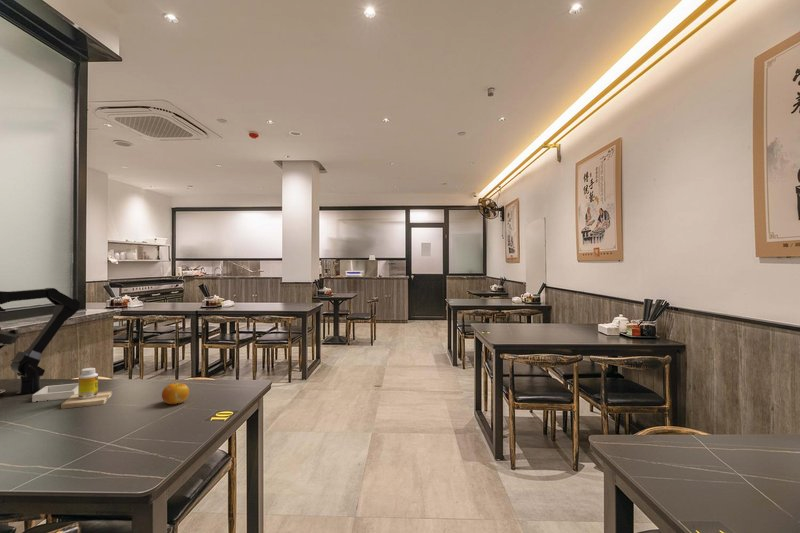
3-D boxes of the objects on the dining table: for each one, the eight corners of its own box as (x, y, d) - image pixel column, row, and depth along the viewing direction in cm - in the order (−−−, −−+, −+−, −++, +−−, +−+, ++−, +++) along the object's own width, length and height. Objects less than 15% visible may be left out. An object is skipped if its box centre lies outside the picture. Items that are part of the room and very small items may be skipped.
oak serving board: (73, 398, 146) (73, 394, 146) (112, 394, 151) (112, 390, 151) (61, 408, 135) (61, 404, 135) (103, 404, 140) (103, 400, 140)
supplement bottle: (97, 397, 142) (98, 369, 142) (78, 400, 139) (78, 371, 139) (97, 393, 147) (97, 366, 147) (78, 396, 143) (78, 368, 143)
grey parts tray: (45, 392, 152) (45, 386, 152) (84, 389, 157) (84, 382, 157) (32, 402, 141) (32, 395, 142) (73, 397, 146) (74, 391, 147)
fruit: (187, 396, 138) (181, 375, 141) (161, 407, 136) (155, 386, 138) (194, 400, 146) (188, 380, 149) (169, 411, 143) (164, 390, 146)
